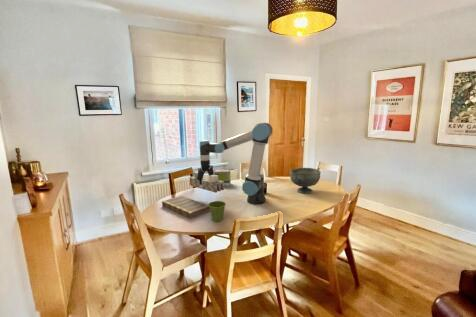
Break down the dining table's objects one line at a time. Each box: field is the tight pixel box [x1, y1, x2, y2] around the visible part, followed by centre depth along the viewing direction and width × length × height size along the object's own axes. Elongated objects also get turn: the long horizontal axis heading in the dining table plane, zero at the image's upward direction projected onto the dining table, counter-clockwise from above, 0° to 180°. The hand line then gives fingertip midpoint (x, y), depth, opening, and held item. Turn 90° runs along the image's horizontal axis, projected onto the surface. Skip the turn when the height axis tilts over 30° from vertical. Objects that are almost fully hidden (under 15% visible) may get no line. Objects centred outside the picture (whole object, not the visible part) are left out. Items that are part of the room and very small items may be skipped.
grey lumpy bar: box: [189, 175, 225, 193], centre depth 201 cm, size 32×9×7 cm, turn 48°
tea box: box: [213, 169, 231, 187], centre depth 249 cm, size 15×10×15 cm, turn 84°
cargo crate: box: [208, 175, 218, 182], centre depth 194 cm, size 5×5×4 cm
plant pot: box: [207, 200, 227, 222], centre depth 168 cm, size 12×12×11 cm
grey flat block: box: [161, 195, 211, 220], centre depth 189 cm, size 36×18×4 cm, turn 48°
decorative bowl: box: [289, 167, 321, 195], centre depth 224 cm, size 26×26×20 cm
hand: (206, 186), depth 202 cm, fingers closed on grey lumpy bar, 9 cm apart
